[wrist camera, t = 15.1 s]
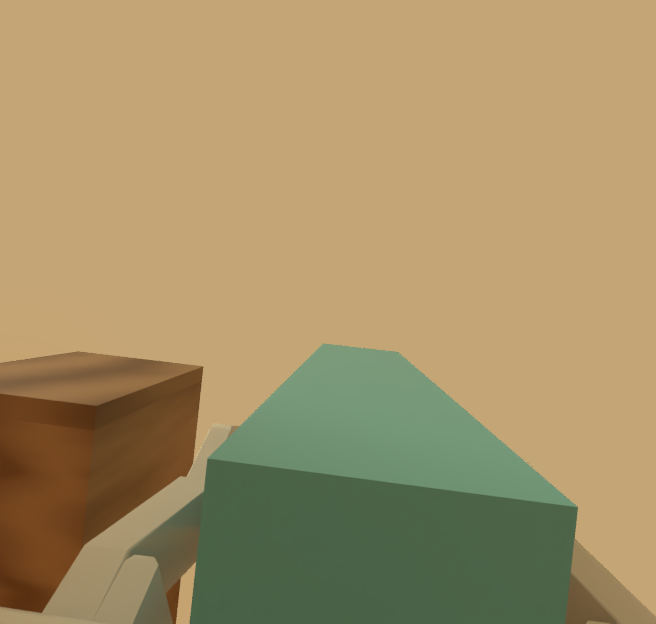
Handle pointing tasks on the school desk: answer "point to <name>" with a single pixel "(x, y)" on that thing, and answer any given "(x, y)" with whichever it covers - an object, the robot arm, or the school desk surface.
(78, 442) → the bookcase block
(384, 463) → the book
